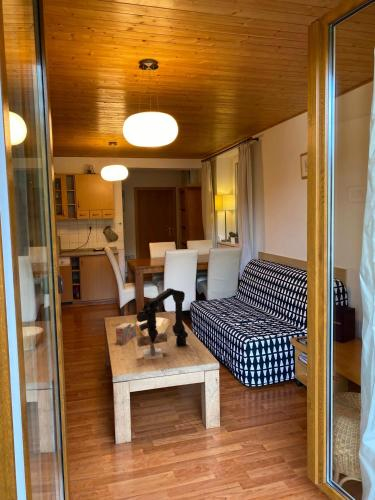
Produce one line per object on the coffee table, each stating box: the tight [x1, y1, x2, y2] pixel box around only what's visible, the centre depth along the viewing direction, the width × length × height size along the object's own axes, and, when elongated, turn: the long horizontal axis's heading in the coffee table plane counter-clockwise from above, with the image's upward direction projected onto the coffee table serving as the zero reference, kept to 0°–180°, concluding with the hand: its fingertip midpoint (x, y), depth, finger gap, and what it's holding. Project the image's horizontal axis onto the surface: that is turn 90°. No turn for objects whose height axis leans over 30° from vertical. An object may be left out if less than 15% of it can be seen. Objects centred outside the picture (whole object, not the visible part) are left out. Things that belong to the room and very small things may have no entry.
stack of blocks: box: [115, 322, 137, 345], centre depth 297 cm, size 21×6×12 cm, turn 162°
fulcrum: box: [142, 344, 164, 360], centre depth 265 cm, size 12×14×6 cm
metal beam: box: [136, 332, 168, 348], centre depth 264 cm, size 20×4×5 cm, turn 117°
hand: (152, 341), depth 265 cm, fingers closed on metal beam, 5 cm apart
